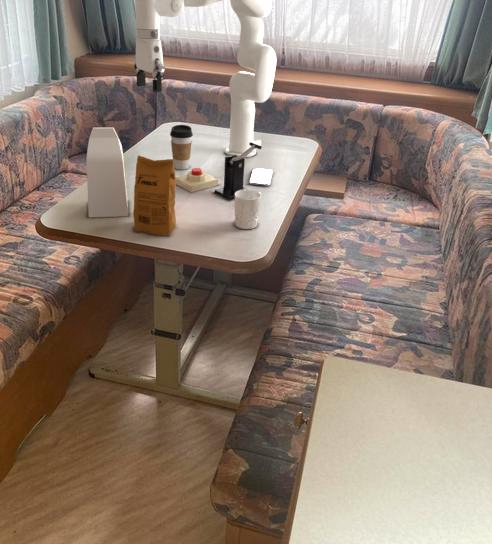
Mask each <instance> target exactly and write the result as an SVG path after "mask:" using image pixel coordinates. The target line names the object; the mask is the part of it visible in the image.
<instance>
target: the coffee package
mask: <svg viewBox="0 0 492 544" xmlns="http://www.w3.org/2000/svg"><path fill="white" fill-rule="evenodd" d="M175 173H176V172H175V168H174V160H173V158H166V159H156V160H155V159H154V160H153V159H151V158H148V157H145V156H142V155H139V154H138V155H137V158H136V165H135V177H134V178H135V179H134V180H135V181H134V186H133V187H134V189H133V211H132V212H133V229H134V232H136V233H147V234H148V235H151V236H170V235H171V233H172V232H173V231H174V229H175V228H176V224H177V221H176V209H175V206H176V188H177V187H176V185H177V184H176V180H175V177H176V174H175Z"/></svg>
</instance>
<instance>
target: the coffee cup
mask: <svg viewBox="0 0 492 544" xmlns="http://www.w3.org/2000/svg"><path fill="white" fill-rule="evenodd" d="M170 129H171V130H170V132H169V136H170V145H171V154H172V159H173V160H174V170H180V171H181V170H183V171H184V170H188V169H190V164H191V163H190V162H191V155H192V154H191V152H192V144H193V143H192V142H193V140H192V139H193V138H192V137H193V136H194V134H193V131H192V127H191V126H190V125H186V124H177V125H174V126H172V127H171V128H170Z"/></svg>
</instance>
